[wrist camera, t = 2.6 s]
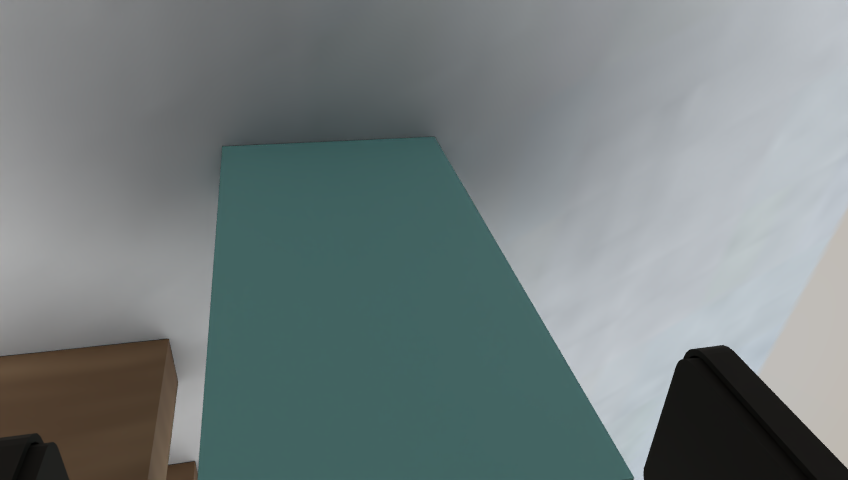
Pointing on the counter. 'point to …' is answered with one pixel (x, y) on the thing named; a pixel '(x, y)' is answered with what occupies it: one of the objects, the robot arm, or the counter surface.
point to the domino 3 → (378, 330)
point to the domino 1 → (95, 407)
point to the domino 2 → (182, 471)
